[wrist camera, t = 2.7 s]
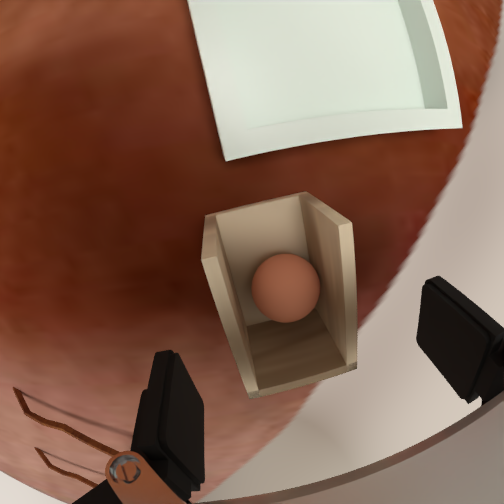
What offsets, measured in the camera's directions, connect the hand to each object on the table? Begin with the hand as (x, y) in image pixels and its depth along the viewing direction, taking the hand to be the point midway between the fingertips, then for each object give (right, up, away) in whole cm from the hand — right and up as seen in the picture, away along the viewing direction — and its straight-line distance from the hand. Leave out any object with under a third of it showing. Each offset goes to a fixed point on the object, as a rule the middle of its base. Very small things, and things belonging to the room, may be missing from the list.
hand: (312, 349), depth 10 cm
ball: (-1, +2, +5) cm, 6 cm away
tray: (0, +17, 0) cm, 17 cm away
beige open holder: (-1, +3, +6) cm, 6 cm away
